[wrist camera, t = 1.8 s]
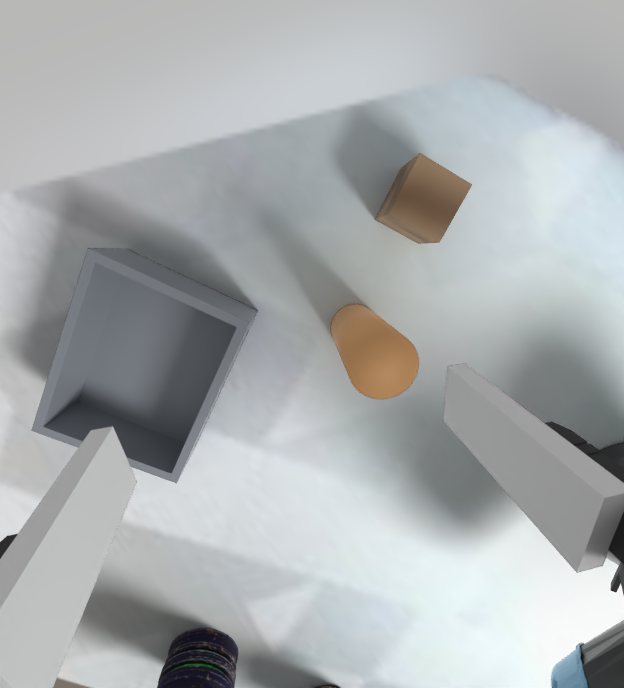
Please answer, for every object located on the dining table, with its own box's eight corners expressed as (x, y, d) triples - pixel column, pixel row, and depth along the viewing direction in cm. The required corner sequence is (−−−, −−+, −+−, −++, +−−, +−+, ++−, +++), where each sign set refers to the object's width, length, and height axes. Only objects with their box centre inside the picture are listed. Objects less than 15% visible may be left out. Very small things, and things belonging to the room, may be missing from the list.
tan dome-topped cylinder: (365, 295, 34) (401, 318, 22) (385, 336, 35) (429, 378, 23) (322, 318, 34) (335, 353, 23) (344, 358, 35) (367, 410, 24)
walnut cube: (400, 168, 31) (420, 153, 26) (445, 194, 31) (472, 184, 27) (374, 219, 32) (388, 213, 27) (418, 243, 32) (439, 242, 28)
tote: (126, 248, 31) (87, 248, 26) (257, 310, 33) (249, 322, 28) (74, 401, 35) (31, 430, 30) (195, 447, 37) (176, 483, 32)
